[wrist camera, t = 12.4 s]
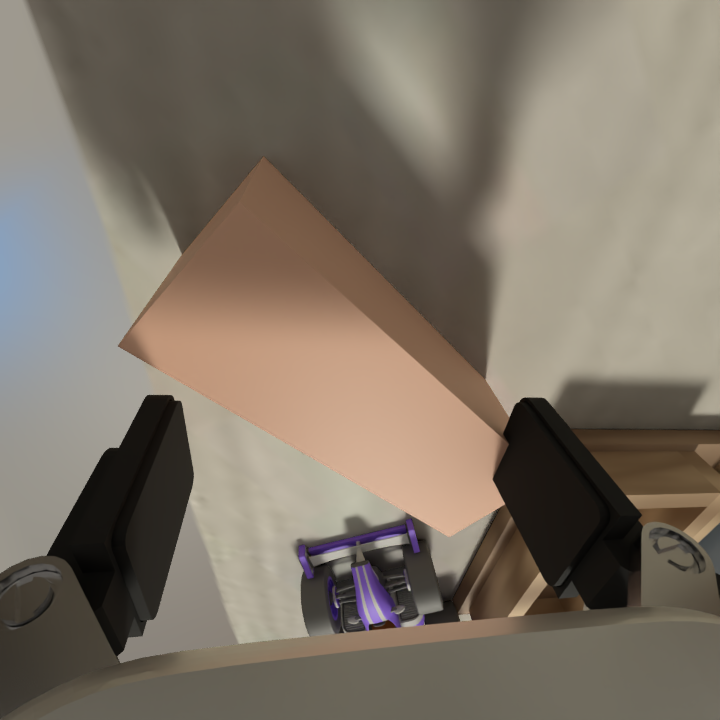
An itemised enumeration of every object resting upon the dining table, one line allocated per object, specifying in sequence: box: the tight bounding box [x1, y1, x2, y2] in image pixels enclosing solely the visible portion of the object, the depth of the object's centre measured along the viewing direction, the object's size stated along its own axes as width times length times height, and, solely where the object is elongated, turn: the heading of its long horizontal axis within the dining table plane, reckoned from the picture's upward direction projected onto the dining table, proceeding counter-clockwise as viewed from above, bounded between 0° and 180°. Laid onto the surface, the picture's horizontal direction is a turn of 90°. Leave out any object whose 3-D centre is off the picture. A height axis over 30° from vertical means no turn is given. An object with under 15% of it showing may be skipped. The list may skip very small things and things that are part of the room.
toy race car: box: [299, 519, 460, 637], centre depth 24 cm, size 10×15×6 cm, turn 13°
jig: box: [453, 429, 720, 621], centre depth 24 cm, size 17×18×4 cm
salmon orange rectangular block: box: [118, 156, 509, 537], centre depth 13 cm, size 12×4×6 cm, turn 43°
